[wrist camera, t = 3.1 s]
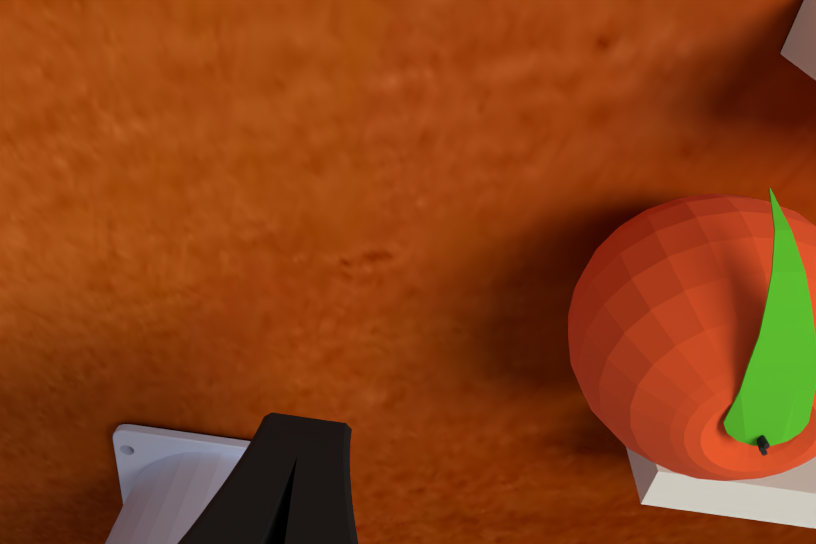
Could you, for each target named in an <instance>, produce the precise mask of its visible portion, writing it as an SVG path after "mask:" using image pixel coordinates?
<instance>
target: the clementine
mask: <svg viewBox="0 0 816 544" xmlns="http://www.w3.org/2000/svg"><path fill="white" fill-rule="evenodd" d="M769 193H770V202H771V203H770V202H767V201H765V200H760V199H755V198H750V197H745V196H735V195H723V194H704V195H697V196H690V197H683V198H677V199H674V200H672V201H669V202H666V203H663V204H661V205H658V206H655V207H652V208H650V209H647V210H645V211H643V212H642V213H640V214H639V215H637V216H635V217H634V218H632V219H631V220H629V221H627V222H626V223H624V224H623V225H621V226H619V227H618V228H617V229H616V230H615V231H614V232H613V233H612V234H611V235H610V236H609V237H608V238H607V239H606V240H605V241H604V242H603V243H602V244H601V245H600V246H599V247H598V248H597V249H596V251H595V252H594V254H593V256H592V258H591V259H590V261H589V263H588V264H587V266H586V268H585V269H584V271H583V273H582V275H581V277H580V279H579V281H578V282H577V284H576V286H575V289H574V293H573V297H572V301H571V305H570V309H569V313H568V341H569V352H570V363H571V366H572V368H573V371H574V373H575V376H576V378H577V380H578V383H579V385H580V387H581V390H582V392H583V394H584V396H585V398H586V400H587V402H588V404H589V406H590V409H591V411H592V412H593V413H594V414H595V415H596V416H597V417H598V418H599V419H600V420H601V421H602V422H603V423H604V424H605V425H606V426H607V427H608V428H609V430H610V431H611V432H612V433H613V434H614V435H615V436H616V437H617V438H618V439H619V440H620V441H621V442H622V443H623V444H624V445H625V446H626V447H627V448H628V449H630V450H632V451H634V452H635V453H637V454H639V455H641V456H643V457H644V458H646V459H648V460H650V461H651V462H654V463H656V464H658V465H660V466H662V467H664V468H666V469H668V470H670V471H673V472H676V473H679V474H683V475H686V476H689V477H693V478H696V479H706V480H717V481H733V480H746V479H759V478H764V477H768V476H772V475H776V474H780V473H783V472H786V471H788V470H790V469H793V468H795V467H798V466H800V465H802V464H804V463H806V462H808V461H809V460H811V459H813V458H814V457H816V226H815V225H813V224H812V223H811V222H809V221H808V220H807V219H805V218H804V217H803V216H801V215H800V214H799V213H797V212H795V211H793V210H790V209H787V208H784V207H781V206H779V204H778V202H777V200H776V198H775V196H774V194H773V193H772V191H771V189H770V188H769Z"/></svg>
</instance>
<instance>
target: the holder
mask: <svg viewBox="0 0 816 544" xmlns="http://www.w3.org/2000/svg"><path fill="white" fill-rule="evenodd" d="M780 54H781V55H782V56H784V57H785V58H786V59H788V60H789V61H790V62H792V63H793V64H794V65H796V66H797V67H798V68H800V69H801V70H802V71H804V72H805V73H806V74H808V75H809V76H810V77H812V78H813V79H814V80H815V81H816V0H804V1H803V3H802V5H801V8H800V10H799V12H798V14H797V17H796V19H795V21H794V23H793V26H792V28H791V30H790V32H789V35H788V37H787V39H786V41H785V44H784V46H783V48H782V50H781V53H780ZM626 449H627V453H628V457H629V460H630V464H631V468H632V472H633V475H634V479H635V483H636V487H637V491H638V494H639V498H640V502H641V504H645V505H652V506H659V507H666V508H673V509H681V510H688V511H695V512H702V513H709V514H716V515H723V516H731V517H738V518H745V519H752V520H759V521H766V522H773V523H781V524H788V525H795V526H802V527H809V528H816V457H814V458H813V459H811V460H809V461H808V462H806V463H804V464H802V465H800V466H798V467H795V468H793V469H790V470H788V471H786V472H783V473H780V474H776V475H772V476H768V477H764V478H759V479H746V480H733V481H717V480H706V479H696V478H693V477H689V476H686V475H683V474H679V473H676V472H673V471H670V470H668V469H666V468H664V467H662V466H660V465H658V464H656V463H654V462H651V461H650V460H648V459H646V458H644V457H643V456H641V455H639V454H637V453H635V452H634V451H632V450H630V449H628V448H627V447H626Z"/></svg>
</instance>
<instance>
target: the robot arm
mask: <svg viewBox="0 0 816 544" xmlns="http://www.w3.org/2000/svg"><path fill="white" fill-rule="evenodd" d="M351 431H352V429H351V428H350V427H349V426H348V425H347V424H346V423H340V422H333V421H326V420H319V419H312V418H305V417H299V416H292V415H285V414H278V413H270V414H268V415H266V416H265V417H264V418H263V420H262V422H261V424H260V426H259V428H258V430H257V432H256V433H255V435H254V437H253V439H252V440H251V441H245V440H238V439H231V438H224V437H217V436H210V435H203V434H196V433H188V432H181V431H174V430H167V429H160V428H153V427H146V426H139V425H131V424H122V425H119V426H118V427H117V428H116V430H115V432H114V434H113V444H114V450H115V457H116V463H117V469H118V475H119V482H120V488H121V494H122V500H123V507H122V509H121V512H120V514H119V516H118V518H117V520H116V522H115V524H114V526H113V528H112V530H111V532H110V534H109V536H108V538H107V541H106V543H105V544H358V540H357V533H356V527H355V520H354V513H353V505H352V494H351V482H350V439H351Z"/></svg>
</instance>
